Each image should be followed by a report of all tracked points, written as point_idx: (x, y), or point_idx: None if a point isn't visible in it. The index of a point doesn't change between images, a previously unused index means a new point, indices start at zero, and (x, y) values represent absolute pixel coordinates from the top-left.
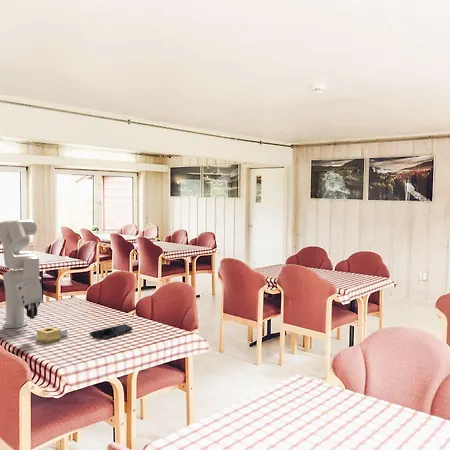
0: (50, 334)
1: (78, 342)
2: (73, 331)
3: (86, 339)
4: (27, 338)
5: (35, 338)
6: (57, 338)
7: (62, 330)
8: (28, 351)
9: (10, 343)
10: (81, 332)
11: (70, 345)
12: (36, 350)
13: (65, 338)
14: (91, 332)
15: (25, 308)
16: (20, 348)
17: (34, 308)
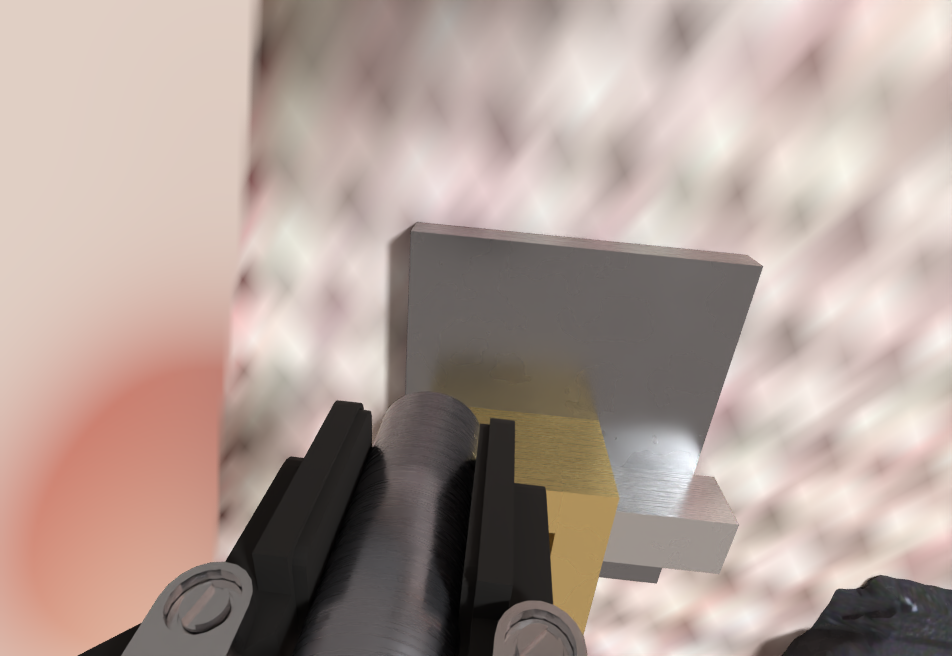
0: None
1: (619, 630)
2: (944, 401)
3: (714, 633)
4: (410, 260)
5: (459, 340)
6: None
7: (672, 556)
8: (241, 485)
9: (252, 136)
10: (920, 489)
11: None
12: None
13: (602, 567)
14: (891, 602)
15: (147, 620)
16: (236, 373)
17: (464, 653)
